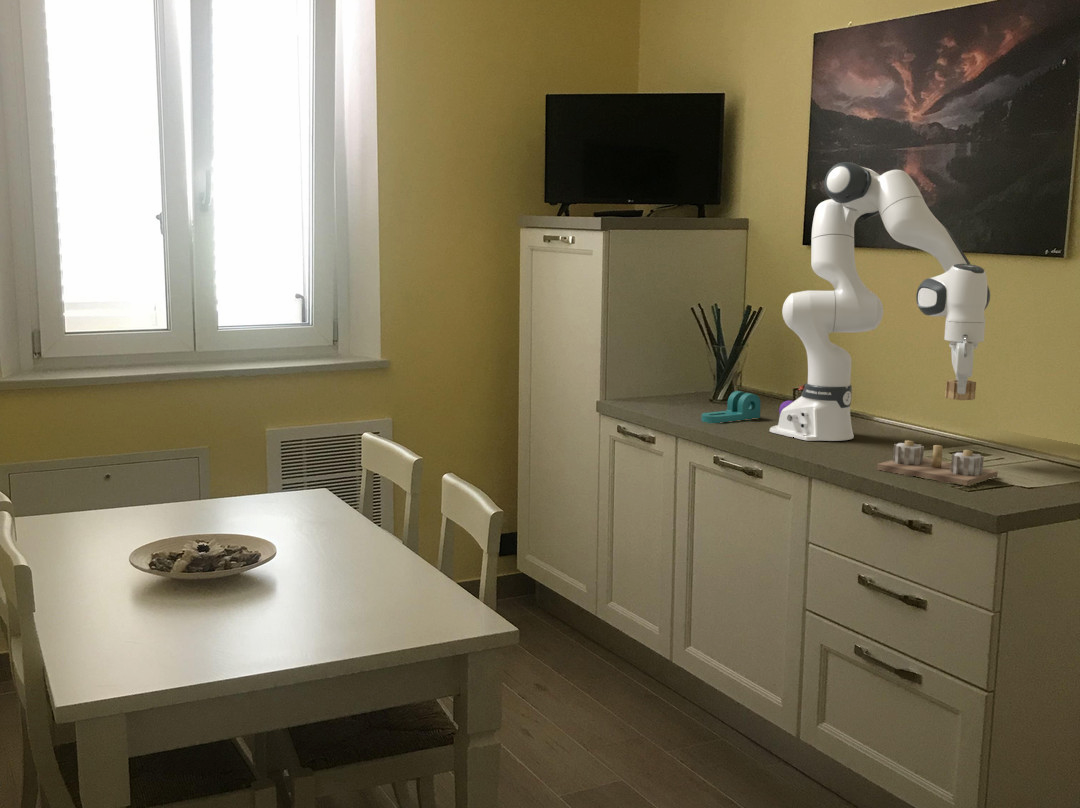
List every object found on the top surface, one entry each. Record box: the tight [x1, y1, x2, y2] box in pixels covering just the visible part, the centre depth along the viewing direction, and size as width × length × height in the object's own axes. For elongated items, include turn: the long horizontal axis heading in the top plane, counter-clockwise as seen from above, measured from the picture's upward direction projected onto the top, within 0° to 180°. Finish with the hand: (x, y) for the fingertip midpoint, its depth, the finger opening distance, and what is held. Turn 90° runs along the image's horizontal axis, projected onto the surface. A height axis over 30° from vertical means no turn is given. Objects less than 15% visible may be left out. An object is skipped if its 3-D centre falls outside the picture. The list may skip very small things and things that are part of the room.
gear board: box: [876, 439, 999, 485], centre depth 255 cm, size 22×14×6 cm, turn 42°
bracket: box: [700, 390, 762, 424], centre depth 323 cm, size 18×7×8 cm, turn 120°
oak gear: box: [944, 379, 977, 401], centre depth 266 cm, size 7×7×4 cm
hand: (960, 391), depth 266 cm, fingers closed on oak gear, 7 cm apart
